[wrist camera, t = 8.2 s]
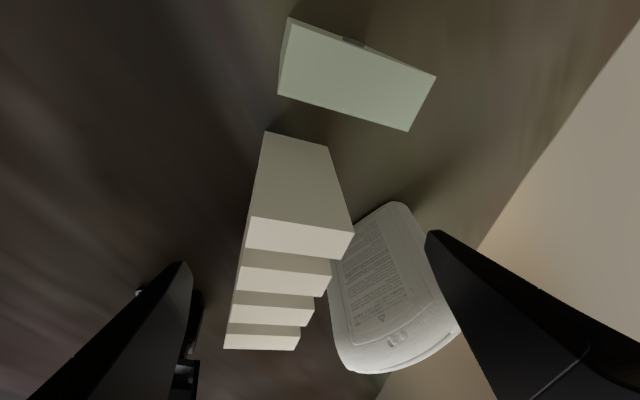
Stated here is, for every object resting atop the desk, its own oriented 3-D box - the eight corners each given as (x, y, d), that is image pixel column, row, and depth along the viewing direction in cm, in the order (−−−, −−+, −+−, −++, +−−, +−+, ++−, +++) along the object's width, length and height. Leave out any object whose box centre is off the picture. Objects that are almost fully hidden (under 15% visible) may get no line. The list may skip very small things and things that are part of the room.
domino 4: (241, 244, 26) (223, 349, 18) (244, 229, 25) (226, 333, 17) (290, 251, 27) (293, 351, 19) (295, 236, 26) (300, 336, 18)
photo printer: (339, 266, 30) (367, 394, 20) (314, 249, 28) (331, 383, 18) (416, 215, 26) (496, 339, 16) (394, 191, 24) (471, 317, 14)
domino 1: (260, 154, 20) (244, 247, 12) (264, 130, 19) (251, 215, 11) (319, 167, 22) (340, 259, 14) (327, 146, 21) (355, 232, 13)
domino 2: (253, 188, 22) (235, 289, 14) (257, 169, 21) (240, 266, 13) (308, 199, 24) (321, 296, 16) (315, 181, 22) (332, 276, 14)
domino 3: (247, 218, 24) (228, 322, 16) (250, 201, 23) (232, 304, 15) (298, 226, 25) (305, 326, 17) (304, 211, 24) (314, 310, 16)
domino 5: (280, 52, 16) (277, 93, 8) (288, 13, 15) (293, 17, 7) (352, 76, 18) (407, 131, 10) (364, 42, 17) (439, 72, 9)
